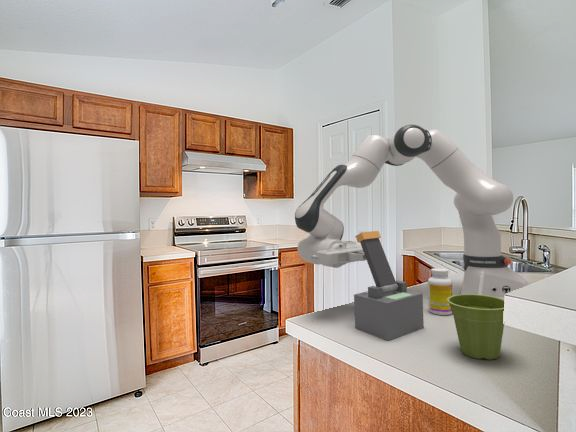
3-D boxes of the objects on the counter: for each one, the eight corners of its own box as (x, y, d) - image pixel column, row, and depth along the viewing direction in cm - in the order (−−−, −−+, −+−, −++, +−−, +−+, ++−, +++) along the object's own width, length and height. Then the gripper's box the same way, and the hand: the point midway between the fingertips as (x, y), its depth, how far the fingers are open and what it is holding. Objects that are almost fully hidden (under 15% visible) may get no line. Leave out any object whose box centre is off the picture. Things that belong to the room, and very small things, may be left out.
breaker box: (355, 328, 87) (353, 285, 87) (389, 317, 95) (388, 277, 95) (388, 340, 78) (386, 292, 78) (423, 327, 86) (422, 283, 85)
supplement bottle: (456, 316, 94) (454, 271, 93) (431, 315, 95) (430, 271, 95) (449, 309, 100) (448, 267, 100) (426, 308, 102) (425, 267, 101)
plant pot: (455, 338, 78) (453, 291, 78) (515, 350, 71) (513, 298, 70) (441, 356, 69) (440, 303, 69) (509, 372, 62) (507, 312, 61)
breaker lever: (377, 295, 85) (355, 236, 91) (394, 291, 89) (372, 234, 94) (384, 292, 83) (361, 232, 89) (401, 288, 87) (378, 230, 92)
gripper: (307, 246, 98) (339, 249, 86) (356, 240, 109) (389, 243, 98) (308, 267, 98) (339, 273, 86) (356, 259, 109) (390, 264, 98)
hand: (366, 257), depth 92 cm, fingers closed
